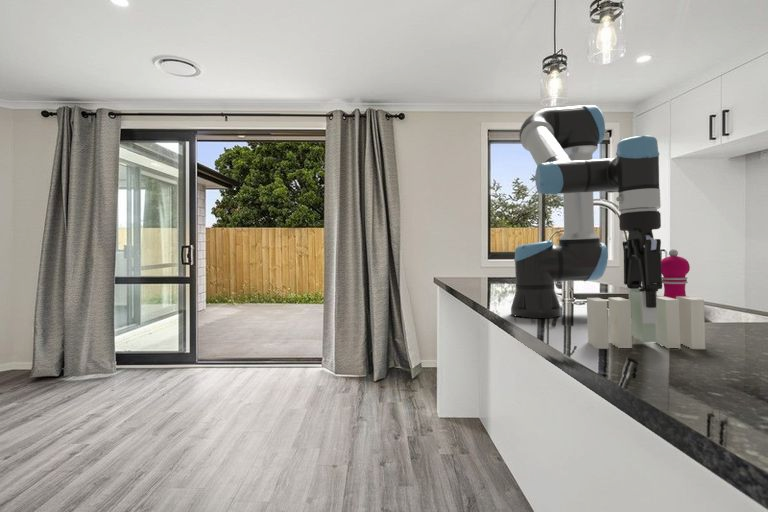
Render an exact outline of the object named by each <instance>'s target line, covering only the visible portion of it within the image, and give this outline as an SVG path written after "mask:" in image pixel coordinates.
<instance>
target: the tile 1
mask: <svg viewBox="0 0 768 512" xmlns="http://www.w3.org/2000/svg"><path fill="white" fill-rule="evenodd" d="M586 315H587V317H586V319H587V343H588V344H589V345H590V346H592V347H593V348H595V349H599V350H600V349H603V350H604V349H605V350H609V349H610V348H609V322H608V321H609V315H608V300H606V299H603V298H601V297H586Z"/></svg>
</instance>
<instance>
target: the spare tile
mask: <svg viewBox="0 0 768 512" xmlns="http://www.w3.org/2000/svg"><path fill="white" fill-rule="evenodd" d="M631 317H632V319H631V331H632V337H633V338H635V339H637V340H638V341H641V342H642V343H655V342H656V324H643V323H642V316H641V292H640V291H631Z"/></svg>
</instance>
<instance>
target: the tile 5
mask: <svg viewBox="0 0 768 512" xmlns="http://www.w3.org/2000/svg"><path fill="white" fill-rule="evenodd" d="M676 299H678V300H679V318H680V343H681V344H683V345H682V346H684V345H685V346H684V347H686V346H687V347H686V348H688V347H689V349H691V350H706V332H705V331H706V330H705V329H706V327H705V326H706V325H705V323H706V322H705V300H704V298H703V299H702V298H700V297H693V296H689V295H686V296H676ZM681 344H680V345H681Z"/></svg>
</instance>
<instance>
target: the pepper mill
mask: <svg viewBox="0 0 768 512" xmlns="http://www.w3.org/2000/svg"><path fill="white" fill-rule="evenodd" d="M678 255H679V251H678V250H676V249H671V250H669V252H668V256H666V257H664V258H662V259H661V273H662V284H663V290H664V291H663V296H662V297H669V298H673V299H676V296H687V294H686V284H688V277H687V276H686V275H687V274H688V273H689V271H690V269H691V266H690V263H689V261H688V260H687V259H686V258H684V257H683V256H678Z"/></svg>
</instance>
